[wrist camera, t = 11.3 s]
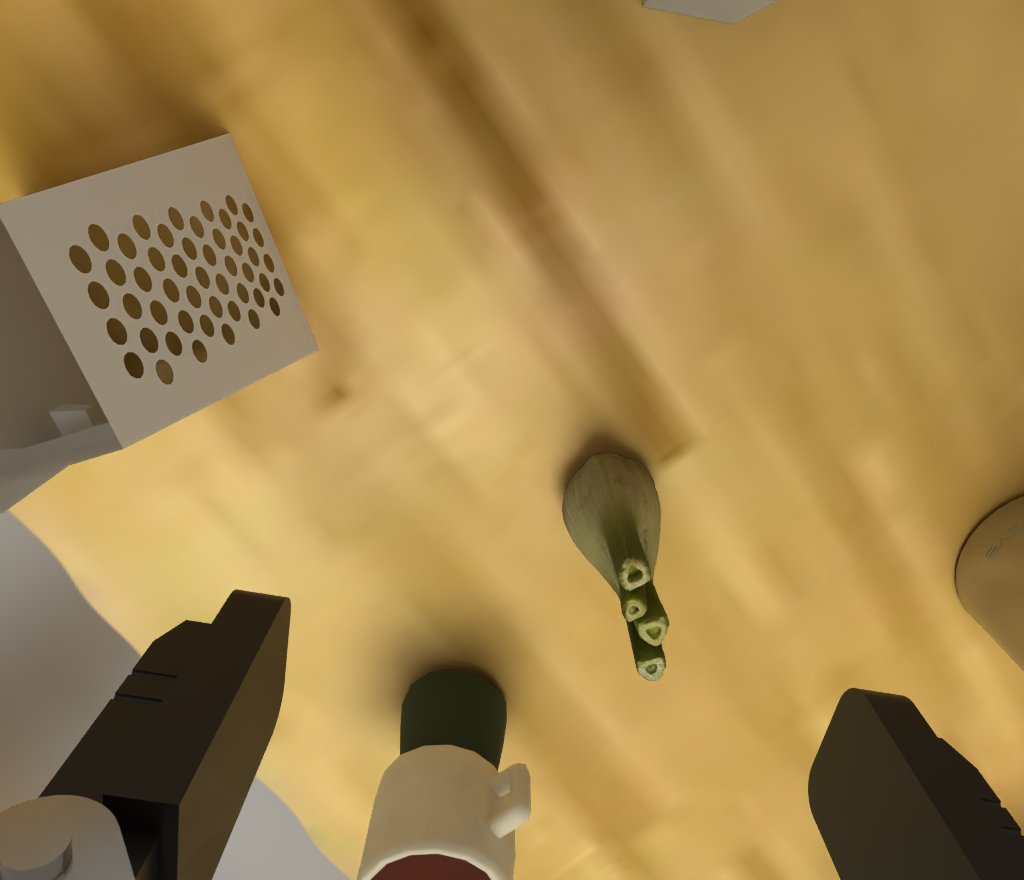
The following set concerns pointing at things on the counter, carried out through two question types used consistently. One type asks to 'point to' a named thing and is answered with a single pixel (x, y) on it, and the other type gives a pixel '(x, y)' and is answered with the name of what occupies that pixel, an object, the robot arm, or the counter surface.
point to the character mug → (448, 788)
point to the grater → (82, 326)
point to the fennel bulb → (622, 545)
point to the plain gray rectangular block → (711, 8)
